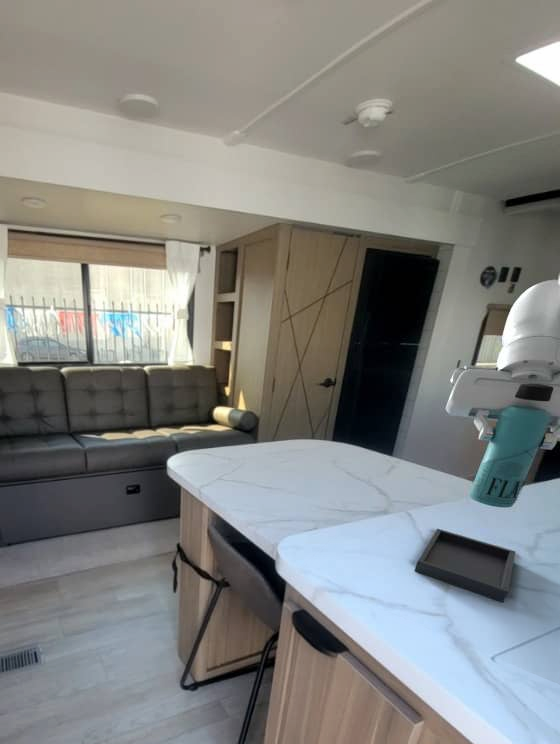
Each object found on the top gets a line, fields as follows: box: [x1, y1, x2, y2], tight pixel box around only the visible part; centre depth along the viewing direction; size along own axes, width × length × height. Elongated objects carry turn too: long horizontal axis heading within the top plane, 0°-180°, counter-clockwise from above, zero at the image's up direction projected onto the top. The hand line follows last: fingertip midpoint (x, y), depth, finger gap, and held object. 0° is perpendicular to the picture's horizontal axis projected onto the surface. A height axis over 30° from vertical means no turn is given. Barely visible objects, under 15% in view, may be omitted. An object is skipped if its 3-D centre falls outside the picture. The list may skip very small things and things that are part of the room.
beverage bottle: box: [469, 384, 553, 509], centre depth 63 cm, size 6×7×20 cm
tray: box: [414, 528, 516, 603], centre depth 72 cm, size 17×13×2 cm
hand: (515, 442), depth 62 cm, fingers closed on beverage bottle, 6 cm apart
